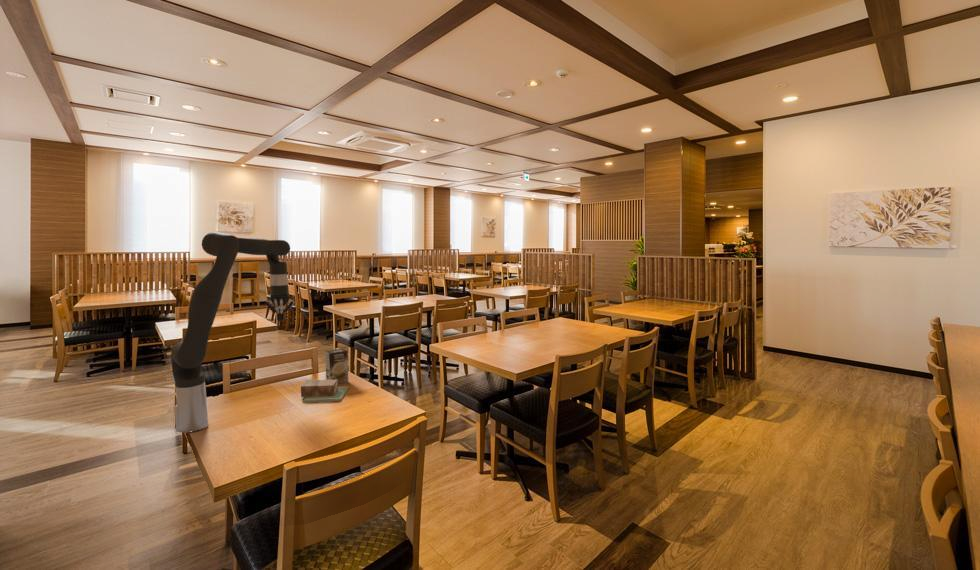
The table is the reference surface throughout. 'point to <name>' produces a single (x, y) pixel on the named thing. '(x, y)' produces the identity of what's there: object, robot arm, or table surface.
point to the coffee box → (337, 365)
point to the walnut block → (319, 388)
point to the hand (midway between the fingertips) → (281, 321)
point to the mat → (336, 397)
